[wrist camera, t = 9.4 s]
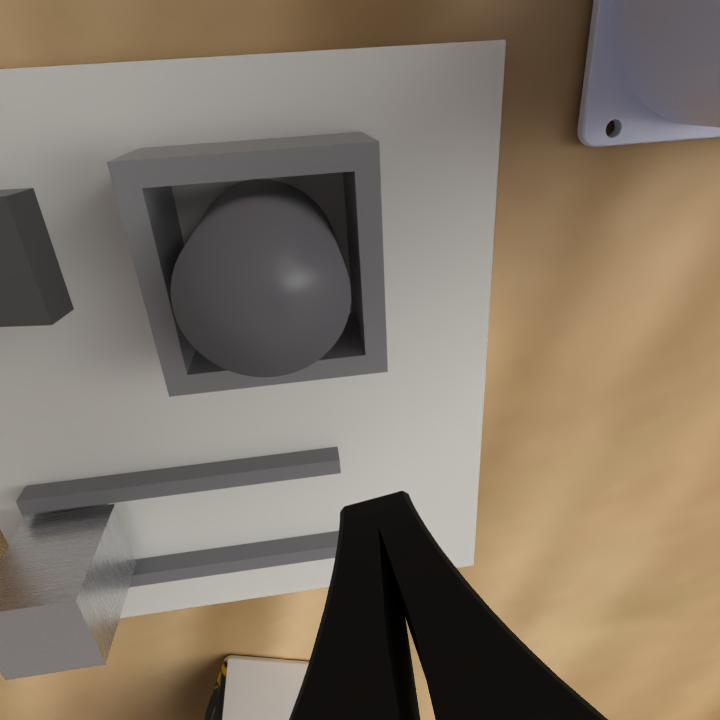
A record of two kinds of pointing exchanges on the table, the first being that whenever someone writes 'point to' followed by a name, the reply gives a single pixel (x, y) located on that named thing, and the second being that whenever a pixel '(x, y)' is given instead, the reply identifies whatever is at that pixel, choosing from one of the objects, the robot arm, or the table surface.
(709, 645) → the table surface
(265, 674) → the medicine bottle
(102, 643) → the slider knob
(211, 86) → the panel
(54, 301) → the rocker
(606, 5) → the robot arm
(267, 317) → the push button
